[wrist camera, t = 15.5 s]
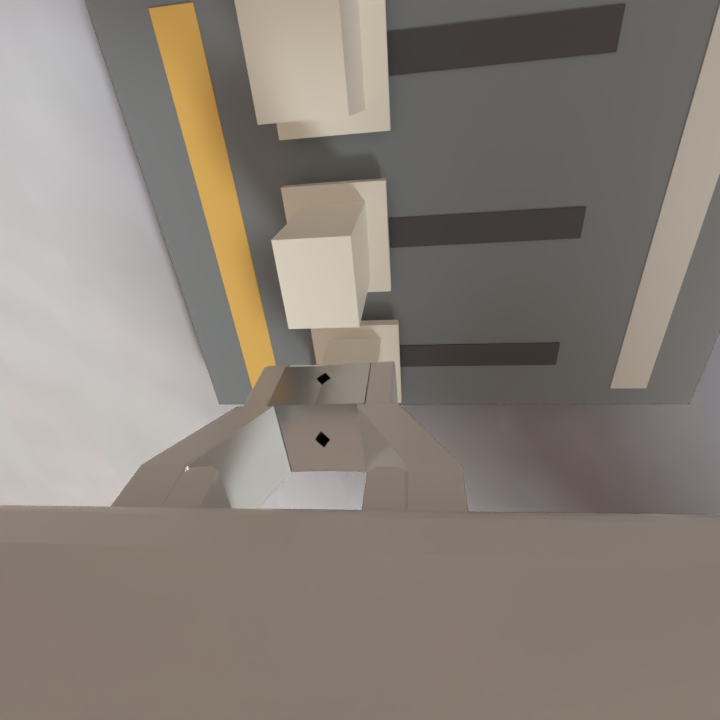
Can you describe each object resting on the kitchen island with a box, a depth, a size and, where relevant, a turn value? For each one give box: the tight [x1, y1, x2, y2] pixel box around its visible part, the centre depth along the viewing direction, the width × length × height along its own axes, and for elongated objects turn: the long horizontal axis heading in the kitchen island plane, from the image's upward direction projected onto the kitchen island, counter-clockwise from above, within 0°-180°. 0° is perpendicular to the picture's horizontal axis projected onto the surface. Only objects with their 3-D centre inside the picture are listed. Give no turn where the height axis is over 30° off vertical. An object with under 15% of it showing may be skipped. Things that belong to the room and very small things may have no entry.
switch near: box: [234, 0, 391, 140], centre depth 12 cm, size 4×4×5 cm
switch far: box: [311, 320, 402, 403], centre depth 18 cm, size 4×4×5 cm
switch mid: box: [271, 178, 391, 329], centre depth 15 cm, size 4×4×5 cm
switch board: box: [85, 0, 720, 404], centre depth 18 cm, size 24×18×2 cm
